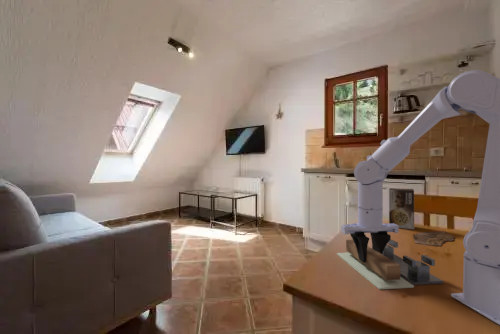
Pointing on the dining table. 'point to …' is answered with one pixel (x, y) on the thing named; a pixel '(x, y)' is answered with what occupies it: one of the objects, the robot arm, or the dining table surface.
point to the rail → (377, 262)
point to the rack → (412, 266)
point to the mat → (373, 274)
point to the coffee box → (401, 207)
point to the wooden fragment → (433, 238)
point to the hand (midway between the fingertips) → (369, 260)
